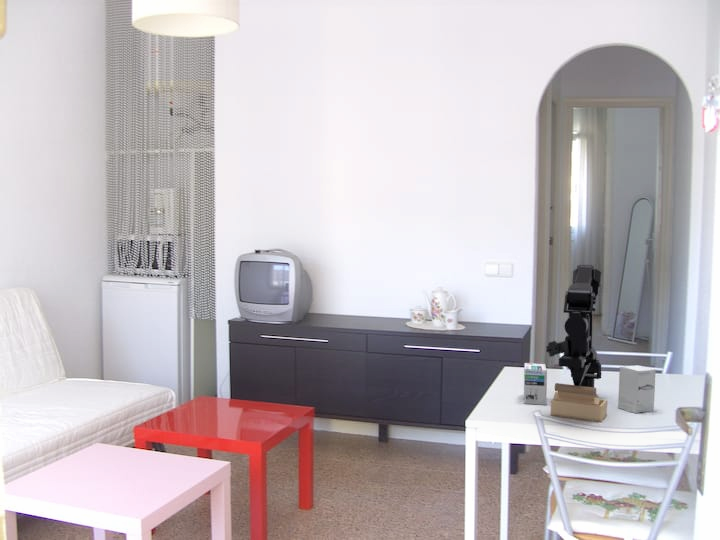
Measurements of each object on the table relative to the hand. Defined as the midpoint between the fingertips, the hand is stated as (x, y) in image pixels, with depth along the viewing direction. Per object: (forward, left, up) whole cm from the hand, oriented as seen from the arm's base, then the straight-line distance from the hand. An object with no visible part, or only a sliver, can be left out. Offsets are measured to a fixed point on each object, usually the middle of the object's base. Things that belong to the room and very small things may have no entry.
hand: (576, 387), depth 214 cm
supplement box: (-20, +13, -9) cm, 25 cm away
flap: (0, 0, -3) cm, 3 cm away
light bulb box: (-15, -16, -9) cm, 24 cm away
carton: (-4, 0, -9) cm, 9 cm away
